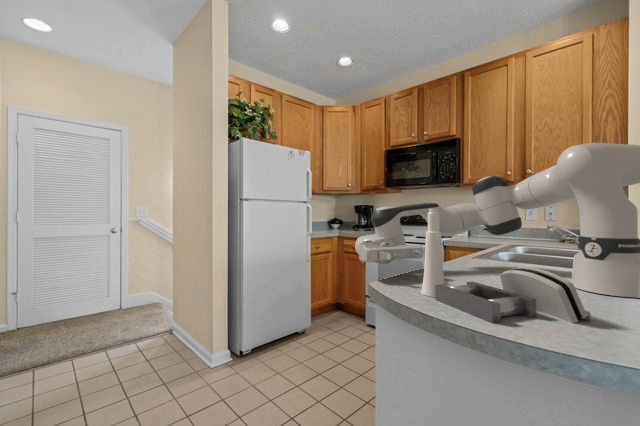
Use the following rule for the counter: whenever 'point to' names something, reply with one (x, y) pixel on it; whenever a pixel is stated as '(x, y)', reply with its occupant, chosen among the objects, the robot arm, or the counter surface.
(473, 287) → the grey hollow rectangular frame
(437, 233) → the cosmetic bottle
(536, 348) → the counter surface
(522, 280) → the grey curved wedge
